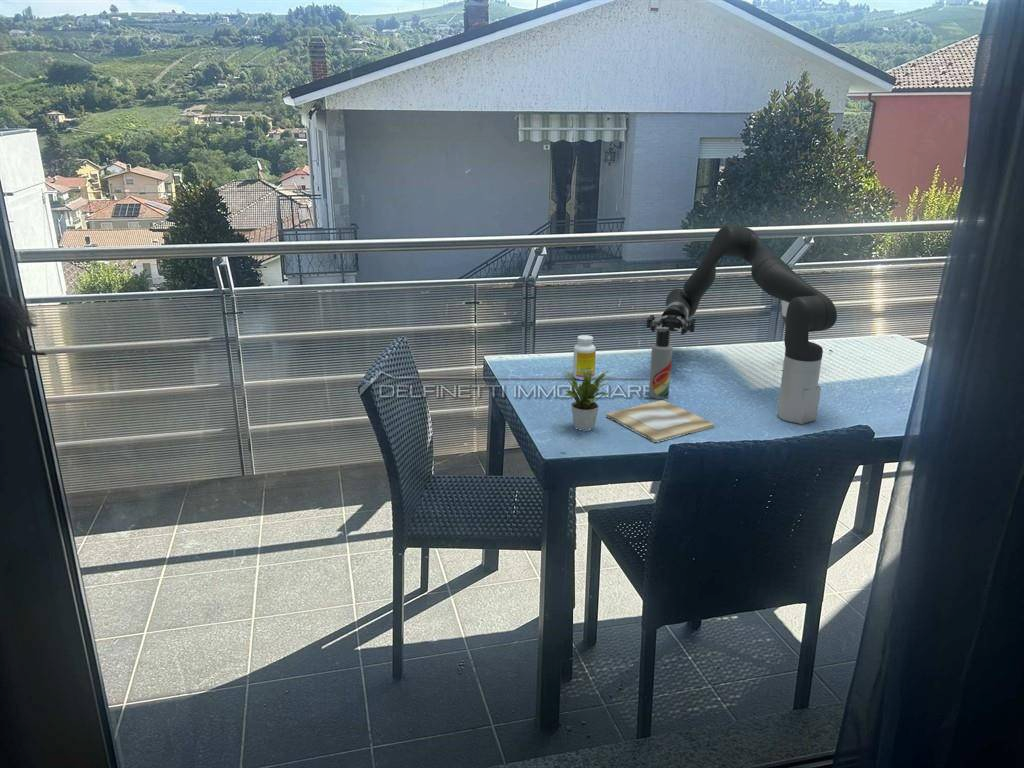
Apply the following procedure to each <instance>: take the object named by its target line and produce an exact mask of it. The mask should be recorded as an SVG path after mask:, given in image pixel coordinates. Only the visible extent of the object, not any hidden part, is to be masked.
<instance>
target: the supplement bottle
mask: <svg viewBox="0 0 1024 768" xmlns="http://www.w3.org/2000/svg"><path fill="white" fill-rule="evenodd" d="M576 340H577V343H576V344H575V345H574V347H573V363H572V364H573V366H572V376H573V378H574V379H576V380H578V379H579V380H580V381H583V379H584V376H583V371H584V373H585V371H586V369H587V368H588V369H589V366H590V368H591V374H592V376H591V379H593V378H596V377H595V375H596V374H595V373H596V353H597V352H596V350H597V348H596V346H595V345H594V344H593V342H594V337H593V336H592V335H585V334H580V335H578V336H577V339H576ZM582 369H583V371H582ZM579 380H578V381H579ZM593 380H594V379H593Z"/></svg>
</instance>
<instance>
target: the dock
mask: <svg viewBox="0 0 1024 768" xmlns="http://www.w3.org/2000/svg"><path fill="white" fill-rule="evenodd" d="M606 416H607V417H609V418H611V419H613V420H615V421H617V422H619V423H621V424H623V425H626V426H627V427H629V428H631V429H633V430H635V431H636V432H638V433H640V434H642V435H644V436H646V437H647V438H649V439H651V440H653V441H655V442H657V441H661V440H665V439H668V438H672V437H675V436H678V435H683V434H688V433H692V434H695V433H699V432H702V431H706V430H709V429H713V428H715V423H714V422H711V421H709V420H707V419H705V418H703V417H701V416H699V415H696V414H694V413H693V412H690V411H688V410H685V409H683V408H681V407H678V406H676V405H674V404H672V403H670V402H667V401H665V399H660V400H657V401H653V402H648V403H646V404H645V403H644V404H640V405H636V406H632V407H629V408H623V409H620V410H615V411H611V412H608V413H606V414H605V417H606ZM607 417H606V418H607ZM609 418H608V419H609ZM611 419H610V420H611ZM613 420H612V421H613ZM694 432H695V433H694ZM688 435H689V434H688ZM647 438H646V439H647Z"/></svg>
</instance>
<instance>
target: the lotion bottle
mask: <svg viewBox="0 0 1024 768" xmlns="http://www.w3.org/2000/svg"><path fill="white" fill-rule="evenodd" d="M655 333H656V334H655V335H656V336H655V343H654V344H652V346H651V353H650V354H651V356H650V369H649V370H650V371H649V383H648V384H649V385H648V396H649V397H650V398H651V399H654V400H655V399H656V400H665V399H667V398H668V397H669V394H670V383H671V382H670V381H671V370H672V359H673V358H672V357H673V346H672V345H671V344H670V341H671V339H670V338H671V331H670V330H669V329H666V328H662V329H658V328H657V329H656V331H655Z"/></svg>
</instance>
